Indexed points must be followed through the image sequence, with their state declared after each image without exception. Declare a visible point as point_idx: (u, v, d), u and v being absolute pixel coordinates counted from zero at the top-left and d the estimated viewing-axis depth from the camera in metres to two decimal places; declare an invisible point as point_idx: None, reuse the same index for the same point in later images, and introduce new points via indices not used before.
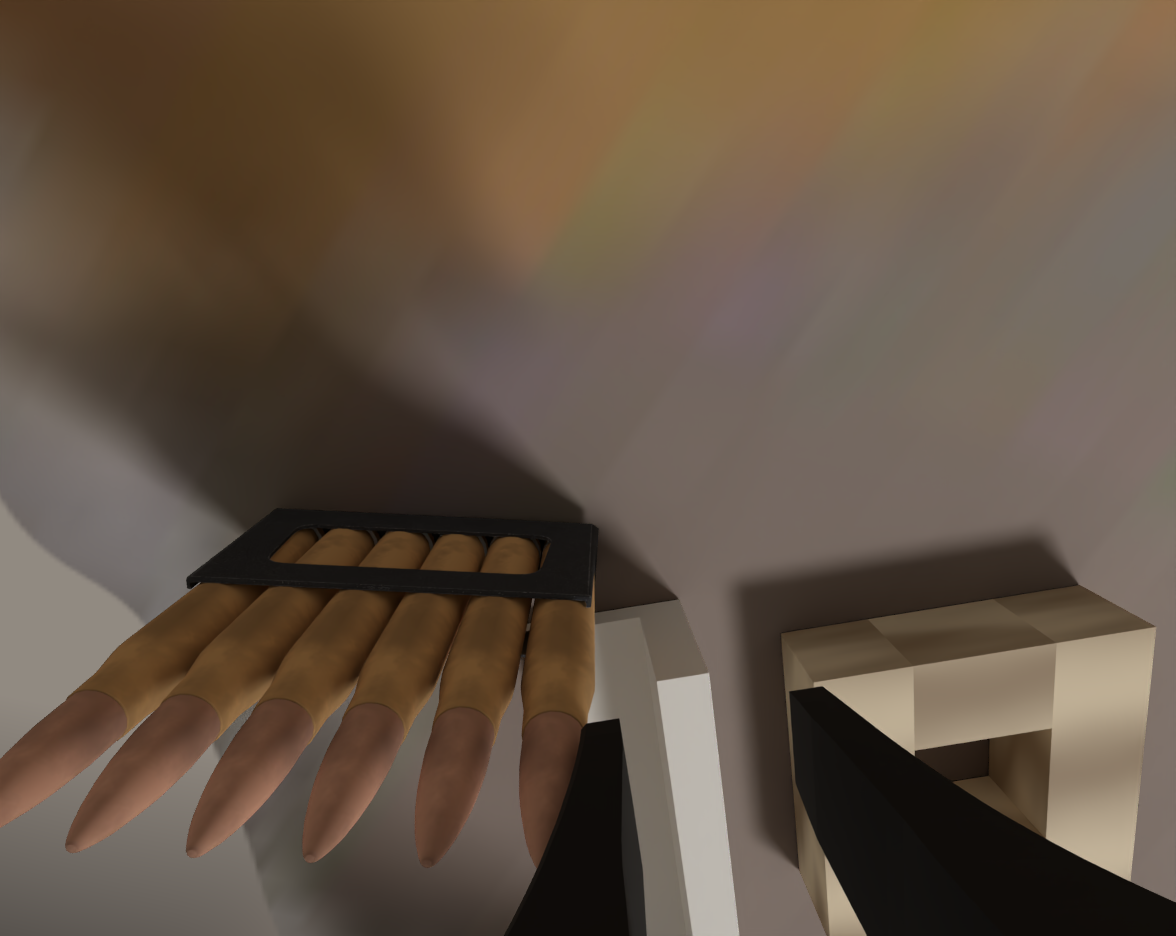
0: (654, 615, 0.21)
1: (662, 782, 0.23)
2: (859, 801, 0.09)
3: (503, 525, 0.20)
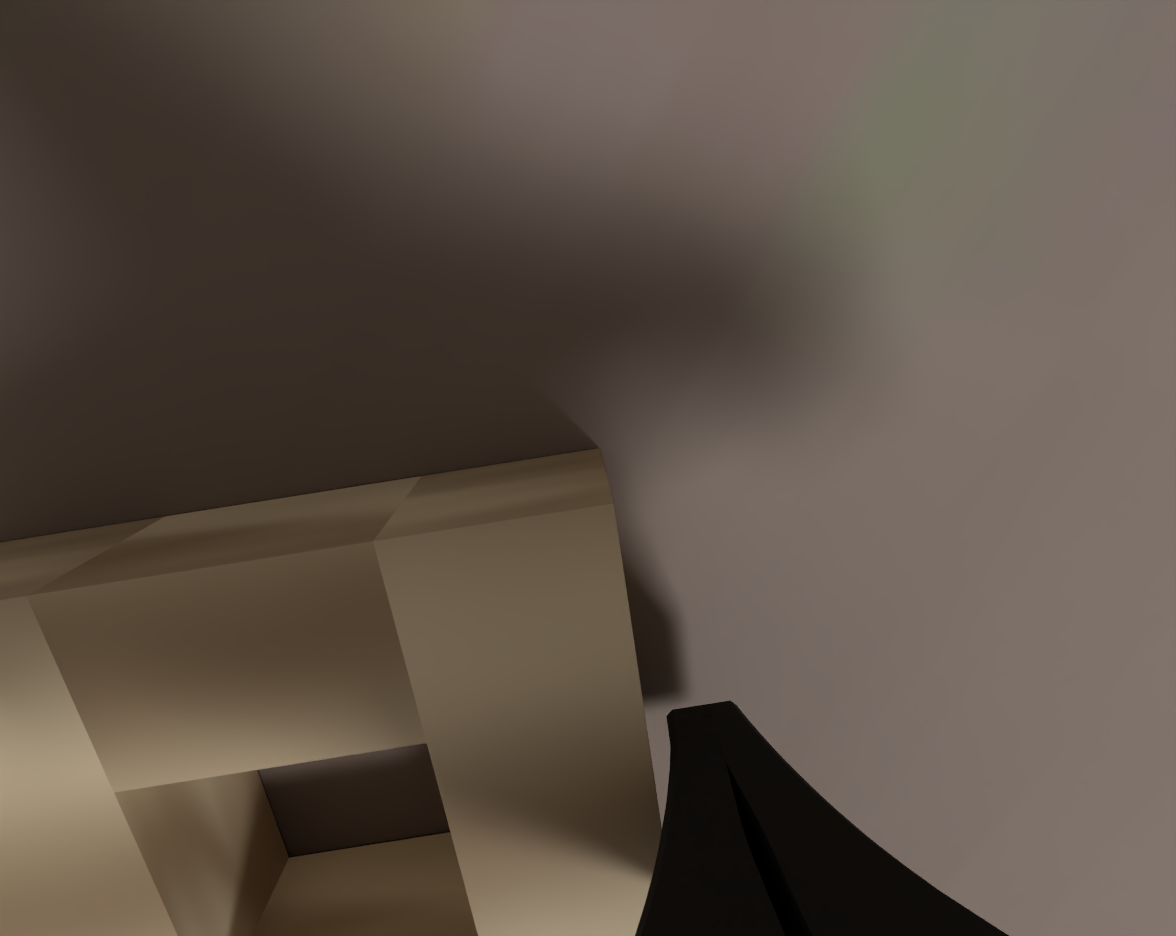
0: None
1: None
2: (742, 819, 0.09)
3: None
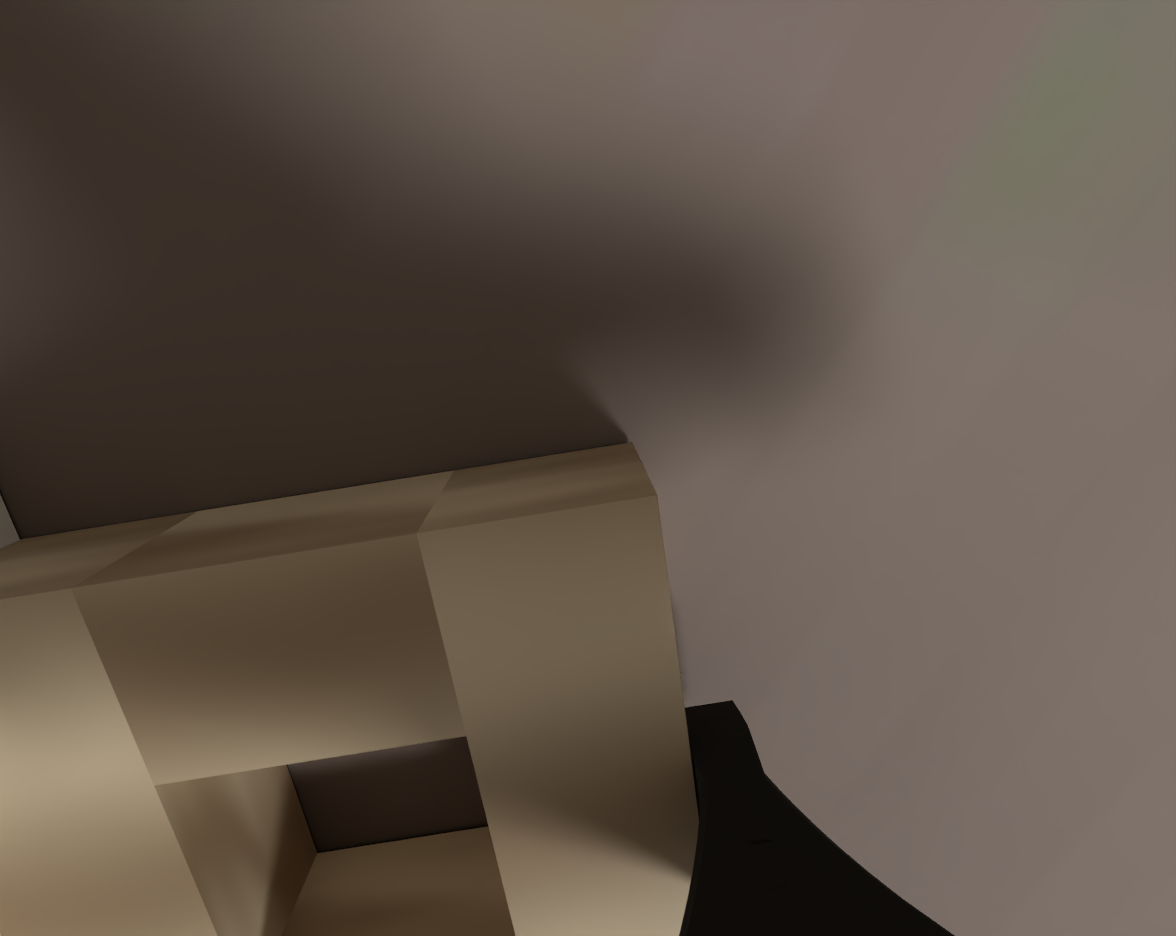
0: None
1: None
2: None
3: None
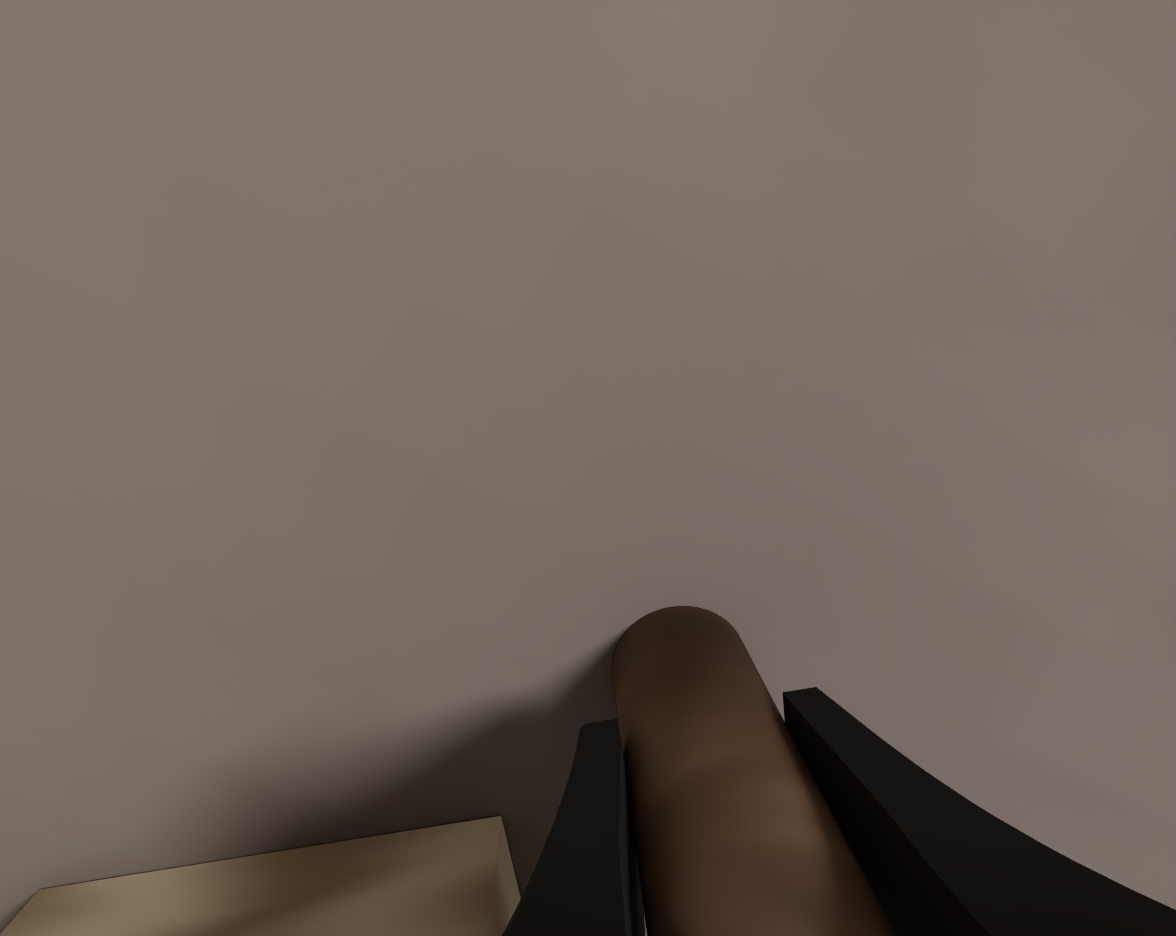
0: None
1: None
2: (851, 802, 0.09)
3: None
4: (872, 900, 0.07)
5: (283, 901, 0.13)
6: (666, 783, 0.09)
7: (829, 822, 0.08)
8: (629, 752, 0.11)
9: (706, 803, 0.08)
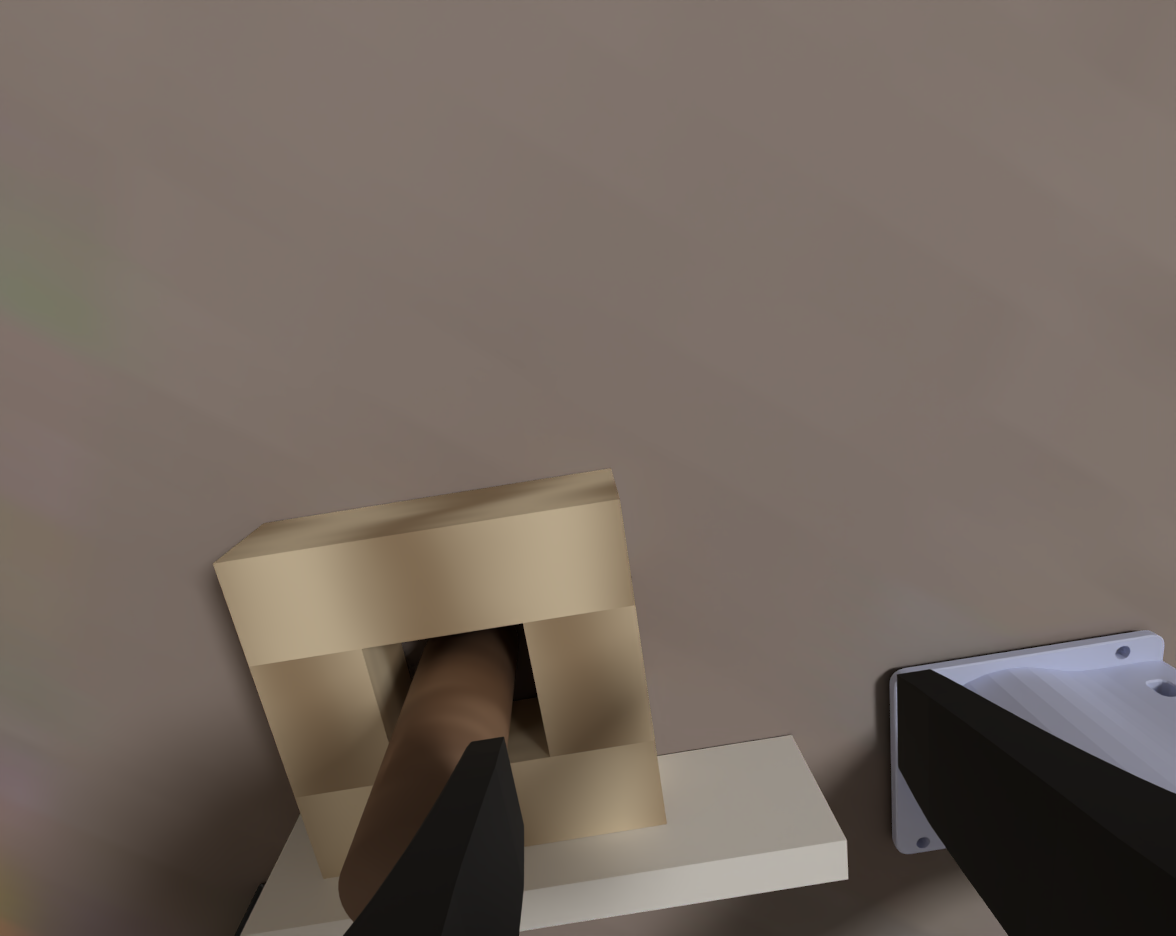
0: None
1: None
2: (995, 779, 0.09)
3: None
4: None
5: (459, 505, 0.18)
6: (412, 699, 0.16)
7: (488, 721, 0.16)
8: (410, 686, 0.18)
9: (423, 706, 0.16)
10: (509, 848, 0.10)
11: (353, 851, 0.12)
